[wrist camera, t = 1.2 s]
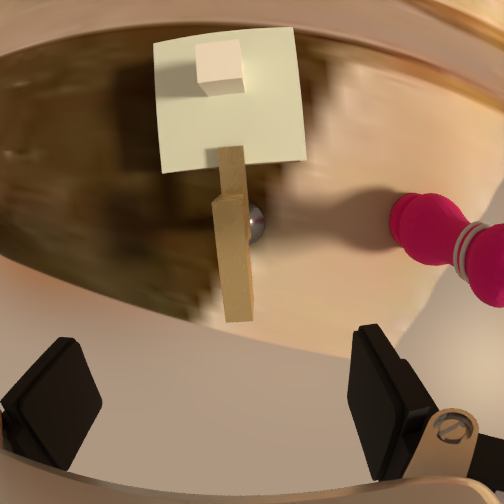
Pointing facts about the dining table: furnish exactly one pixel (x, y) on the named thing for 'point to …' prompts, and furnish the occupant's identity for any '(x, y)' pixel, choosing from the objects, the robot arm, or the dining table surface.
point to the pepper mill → (452, 242)
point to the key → (234, 235)
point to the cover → (228, 98)
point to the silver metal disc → (255, 222)
